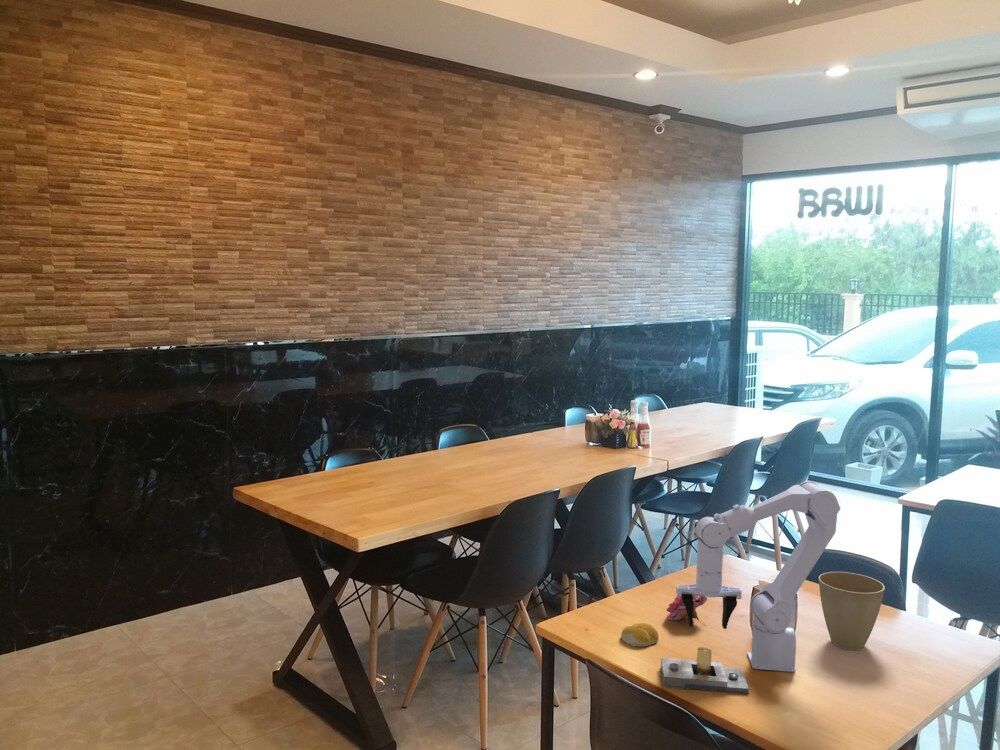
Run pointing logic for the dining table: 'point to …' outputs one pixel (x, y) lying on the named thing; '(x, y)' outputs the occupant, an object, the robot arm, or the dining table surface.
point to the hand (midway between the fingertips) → (707, 626)
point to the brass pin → (703, 661)
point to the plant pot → (850, 607)
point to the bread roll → (640, 635)
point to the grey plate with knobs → (702, 677)
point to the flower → (680, 611)
